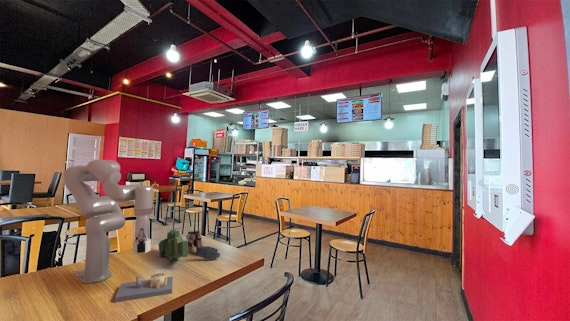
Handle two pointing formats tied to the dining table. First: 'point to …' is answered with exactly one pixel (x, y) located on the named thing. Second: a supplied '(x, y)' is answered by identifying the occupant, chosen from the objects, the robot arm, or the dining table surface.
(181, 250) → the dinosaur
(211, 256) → the stone
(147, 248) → the loose gear
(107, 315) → the dining table surface
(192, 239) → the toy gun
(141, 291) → the gear board
